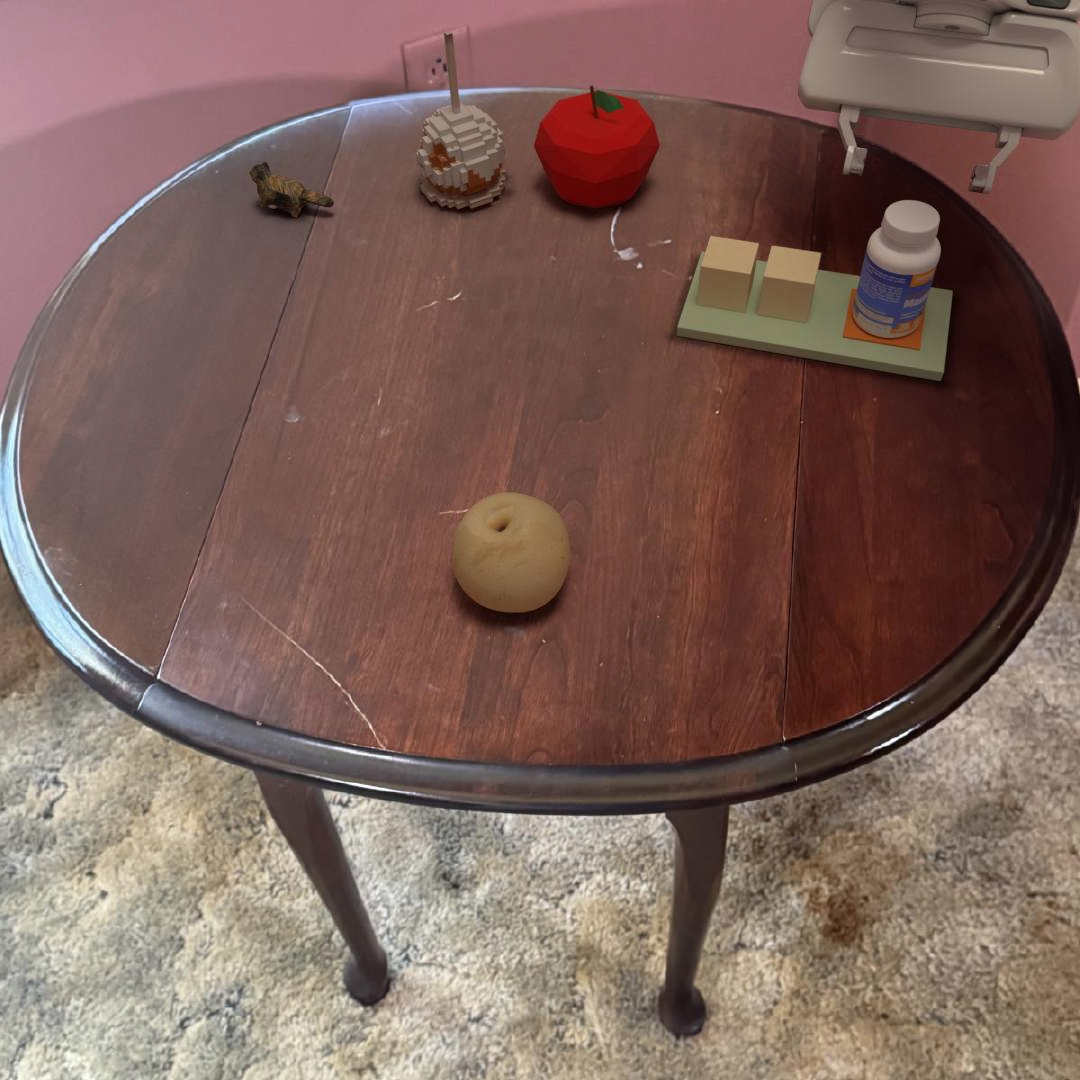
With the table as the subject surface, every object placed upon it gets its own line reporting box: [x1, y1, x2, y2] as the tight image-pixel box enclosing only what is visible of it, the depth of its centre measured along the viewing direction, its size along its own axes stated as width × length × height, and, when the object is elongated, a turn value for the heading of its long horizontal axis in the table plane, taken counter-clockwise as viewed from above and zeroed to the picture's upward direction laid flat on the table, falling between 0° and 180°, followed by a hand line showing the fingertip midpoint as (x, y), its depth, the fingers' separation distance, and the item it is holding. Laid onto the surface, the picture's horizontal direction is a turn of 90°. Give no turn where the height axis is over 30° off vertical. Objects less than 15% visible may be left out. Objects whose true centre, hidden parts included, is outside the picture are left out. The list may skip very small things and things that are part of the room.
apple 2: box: [533, 84, 661, 210], centre depth 100 cm, size 11×11×10 cm
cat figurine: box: [249, 161, 335, 219], centre depth 102 cm, size 3×8×4 cm, turn 74°
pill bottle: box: [853, 199, 942, 338], centre depth 86 cm, size 5×5×10 cm
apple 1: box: [450, 491, 571, 613], centre depth 74 cm, size 8×8×8 cm
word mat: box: [676, 235, 954, 382], centre depth 90 cm, size 21×10×5 cm, turn 73°
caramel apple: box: [415, 29, 507, 210], centre depth 98 cm, size 8×8×15 cm
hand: (915, 182), depth 84 cm, fingers open, 8 cm apart
